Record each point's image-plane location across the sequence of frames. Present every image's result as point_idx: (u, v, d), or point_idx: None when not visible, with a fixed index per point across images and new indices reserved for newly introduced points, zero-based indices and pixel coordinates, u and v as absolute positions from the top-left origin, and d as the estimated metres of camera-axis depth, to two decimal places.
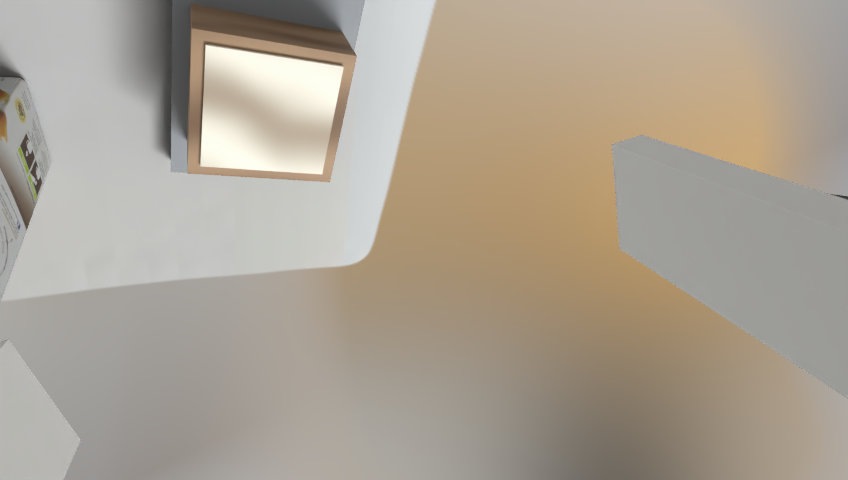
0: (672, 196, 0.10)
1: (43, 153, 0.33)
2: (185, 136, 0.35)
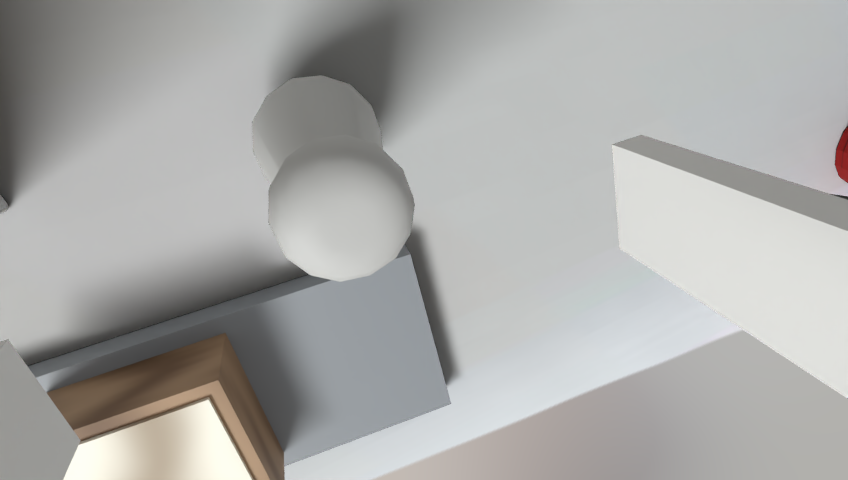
0: (673, 196, 0.10)
1: None
2: (51, 388, 0.26)
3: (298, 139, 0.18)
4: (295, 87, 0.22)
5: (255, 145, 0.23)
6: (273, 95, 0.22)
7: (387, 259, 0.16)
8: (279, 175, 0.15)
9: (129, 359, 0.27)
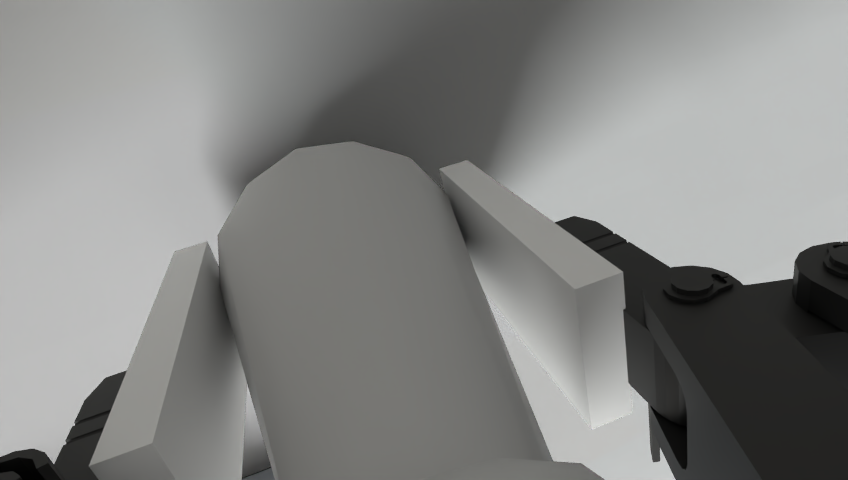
0: (471, 218, 0.12)
1: None
2: None
3: (323, 367, 0.07)
4: (305, 175, 0.10)
5: (223, 286, 0.11)
6: (259, 188, 0.11)
7: None
8: None
9: None
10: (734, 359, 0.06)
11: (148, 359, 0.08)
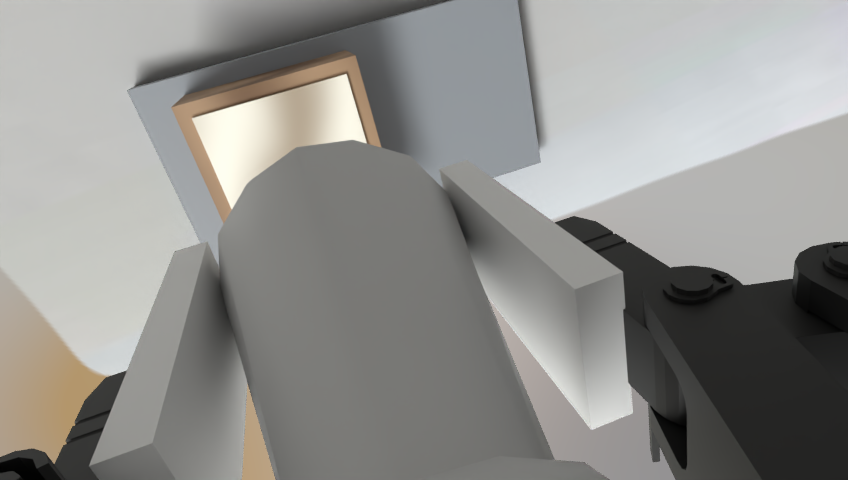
0: (471, 218, 0.12)
1: None
2: (189, 91, 0.28)
3: (324, 366, 0.07)
4: (305, 174, 0.10)
5: (223, 285, 0.11)
6: (260, 187, 0.11)
7: None
8: None
9: (259, 68, 0.29)
10: (734, 359, 0.06)
11: (148, 359, 0.08)
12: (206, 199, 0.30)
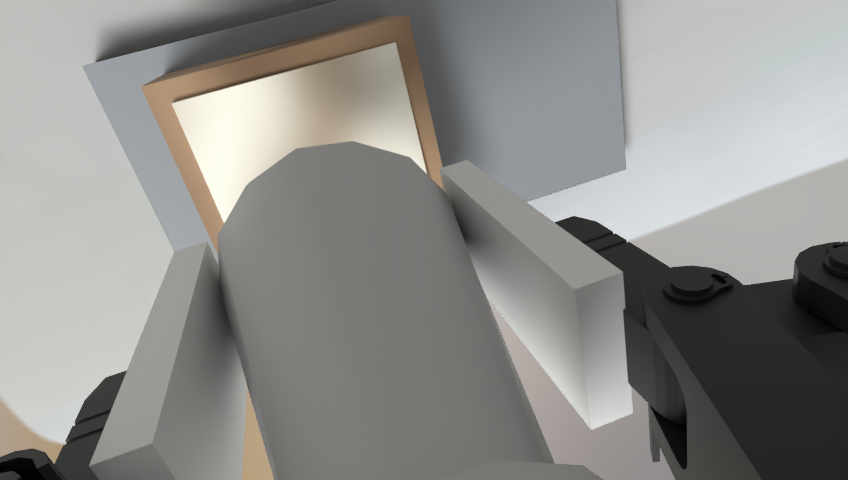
0: (471, 218, 0.12)
1: None
2: (170, 69, 0.20)
3: (323, 368, 0.07)
4: (304, 175, 0.10)
5: (223, 286, 0.11)
6: (260, 188, 0.11)
7: None
8: None
9: (268, 38, 0.21)
10: (734, 359, 0.06)
11: (148, 359, 0.08)
12: (194, 217, 0.23)
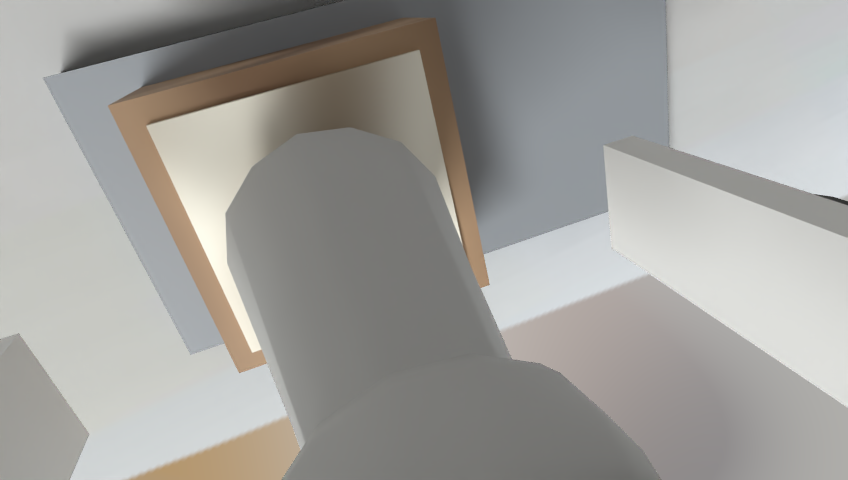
0: (662, 196, 0.10)
1: None
2: (149, 81, 0.17)
3: (327, 307, 0.08)
4: (306, 155, 0.11)
5: (231, 258, 0.12)
6: (264, 168, 0.12)
7: None
8: None
9: (265, 44, 0.18)
10: None
11: None
12: (179, 252, 0.19)
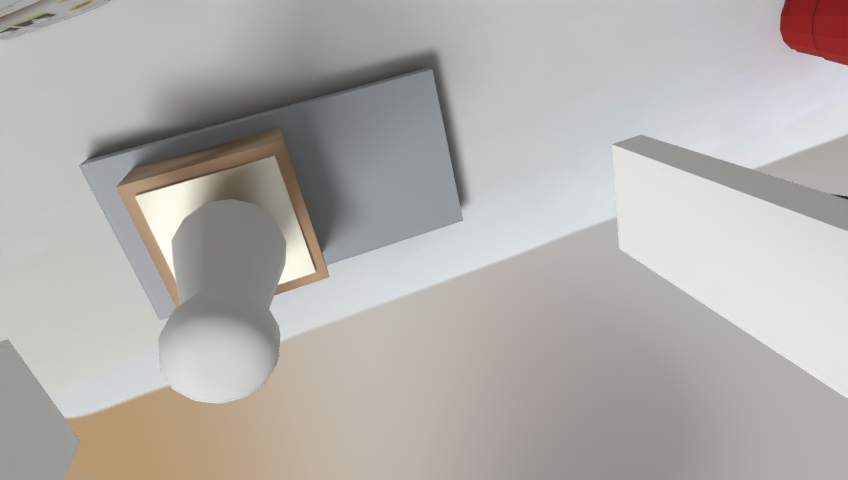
0: (673, 196, 0.10)
1: (24, 31, 0.28)
2: (136, 165, 0.31)
3: (195, 278, 0.22)
4: (205, 215, 0.26)
5: (173, 261, 0.27)
6: (188, 220, 0.26)
7: (256, 386, 0.20)
8: (166, 327, 0.19)
9: (200, 144, 0.32)
10: None
11: None
12: None
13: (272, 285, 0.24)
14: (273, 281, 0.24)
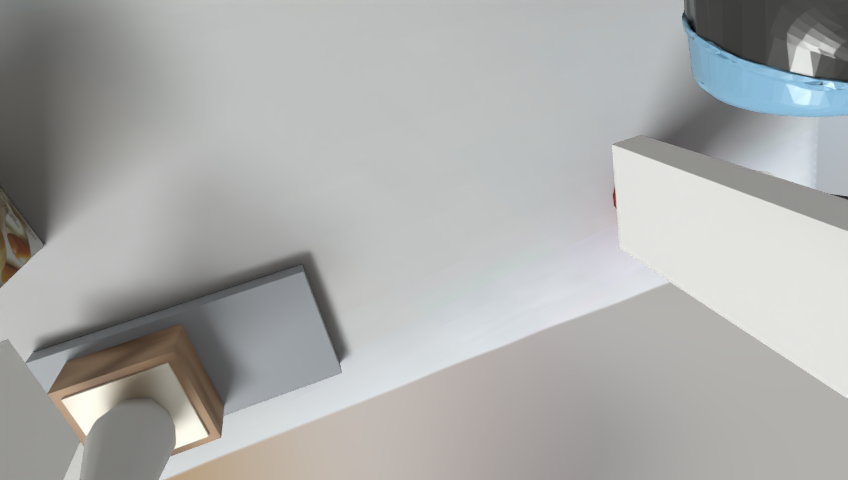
0: (673, 196, 0.10)
1: None
2: (69, 359, 0.41)
3: None
4: (106, 427, 0.36)
5: None
6: (95, 427, 0.36)
7: None
8: None
9: (119, 340, 0.42)
10: None
11: None
12: None
13: None
14: None
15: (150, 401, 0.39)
